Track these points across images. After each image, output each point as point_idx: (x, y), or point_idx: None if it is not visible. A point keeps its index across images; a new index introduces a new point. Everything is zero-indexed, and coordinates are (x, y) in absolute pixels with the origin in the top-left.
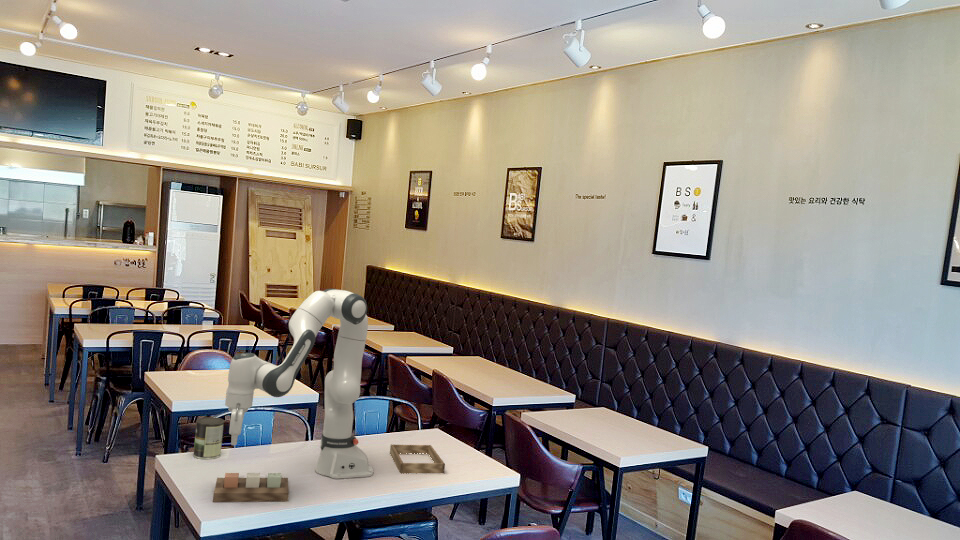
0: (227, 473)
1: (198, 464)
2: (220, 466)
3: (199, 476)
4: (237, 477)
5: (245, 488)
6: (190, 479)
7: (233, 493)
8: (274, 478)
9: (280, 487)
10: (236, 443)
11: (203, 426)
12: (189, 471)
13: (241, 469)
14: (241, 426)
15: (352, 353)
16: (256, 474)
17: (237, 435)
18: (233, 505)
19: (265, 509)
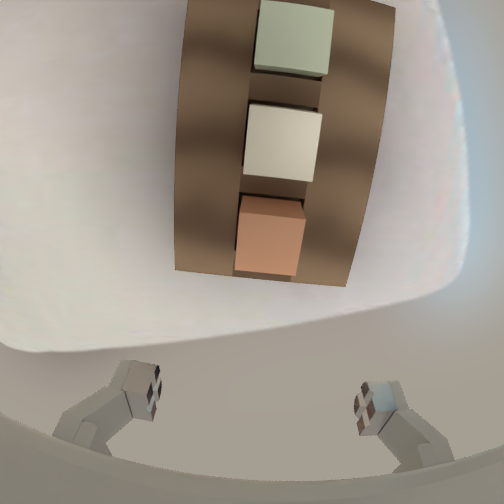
0: (243, 262)
1: (18, 289)
2: (15, 235)
3: (98, 294)
4: (304, 223)
5: (319, 171)
6: (126, 317)
7: (361, 221)
8: (330, 41)
9: None
10: (401, 388)
11: None
12: (67, 314)
13: (24, 171)
14: (487, 501)
15: None
16: (273, 126)
17: (445, 444)
18: (383, 209)
19: (440, 111)
